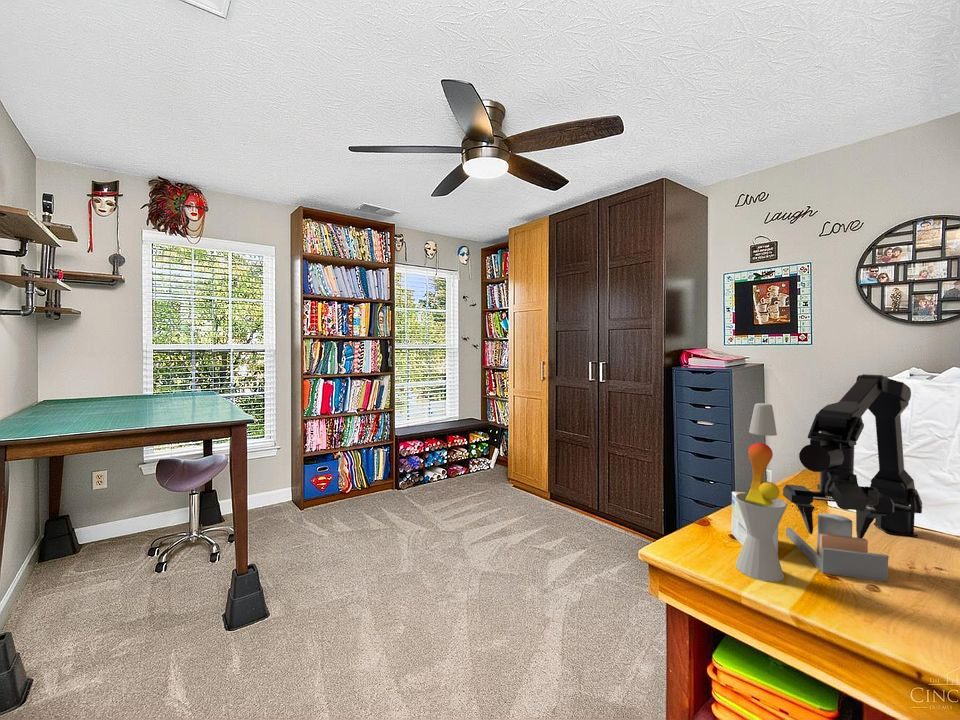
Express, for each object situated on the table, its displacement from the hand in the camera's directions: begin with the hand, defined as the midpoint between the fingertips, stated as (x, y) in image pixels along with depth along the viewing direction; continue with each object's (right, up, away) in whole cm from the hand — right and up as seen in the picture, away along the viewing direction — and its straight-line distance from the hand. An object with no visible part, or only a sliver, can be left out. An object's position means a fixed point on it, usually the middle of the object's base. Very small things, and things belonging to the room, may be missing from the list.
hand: (834, 536), depth 98 cm
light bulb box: (-13, -5, +8) cm, 16 cm away
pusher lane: (0, -5, +2) cm, 5 cm away
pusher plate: (-1, -5, -3) cm, 6 cm away
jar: (0, -5, 0) cm, 5 cm away
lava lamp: (-20, -5, -6) cm, 22 cm away
